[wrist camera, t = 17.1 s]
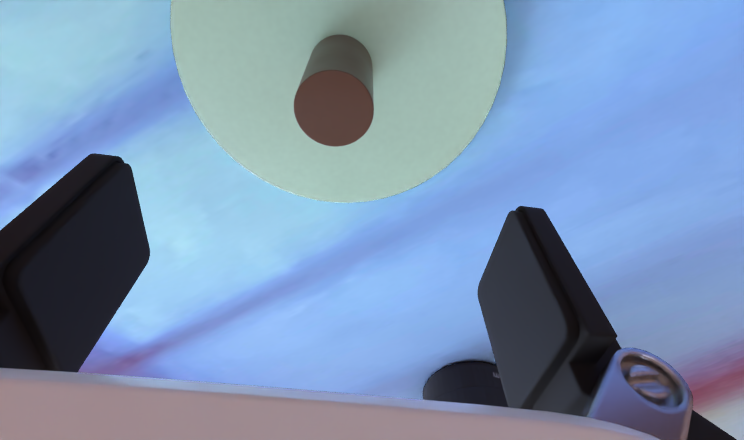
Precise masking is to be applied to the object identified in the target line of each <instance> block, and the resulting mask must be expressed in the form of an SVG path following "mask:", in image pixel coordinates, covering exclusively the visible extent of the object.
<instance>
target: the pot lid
mask: <svg viewBox="0 0 744 440" xmlns="http://www.w3.org/2000/svg"><path fill="white" fill-rule="evenodd" d="M170 27H171V37H172V46H173V52H174V57H175V61H176V65H177V70H178V73H179V76H180V79H181V82H182V84H183V87H184V90H185V93H186V95H187V97H188V99H189V101H190V103H191V105H192V107H193V109H194V111H195V113H196V114H197V116H198V117H199V119H200V120H201V122H202V123H203V125H204V127H205V128H206V130H207V131H208V132H209V133H210V135H211V136H212V137H213V138H214V139H215V141H216V142H217V143H218V144H219V146H221V147H222V148H223V149H224V150H225V151H226V152H227V153H228V154H229V155H230V156H231V157H232V158H233V159H234V160H235V161H236V162H238V163H239V164H240V165H241V166H243V167H244V168H245V169H246V170H248V171H249V172H251V173H252V174H254V175H255V176H257V177H259V178H260V179H262V180H263V181H265V182H267V183H269V184H271V185H273V186H275V187H277V188H279V189H281V190H284V191H287V192H289V193H292V194H295V195H298V196H302V197H306V198H310V199H314V200H320V201H327V202H340V203H354V202H367V201H372V200H377V199H383V198H386V197H390V196H393V195H396V194H399V193H402V192H404V191H407V190H409V189H411V188H414V187H416V186H418V185H420V184H421V183H423V182H425V181H427V180H428V179H430V178H432V177H433V176H435V175H436V174H437V173H439V172H440V171H441V170H443V169H444V168H445V167H447V166H448V165H449V164H450V163H451V162H452V161H453V160H454V159H455V158H456V157H457V156H458V155H460V154H461V152H462V151H463V150H464V149H465V148H466V146H467V145H468V144H469V143H470V142H471V141H472V139H473V138H474V136H475V135H476V133H477V132H478V130H479V129H480V127H481V126H482V124H483V123H484V121H485V119H486V117H487V115H488V113H489V111H490V109H491V107H492V105H493V102H494V99H495V97H496V94H497V91H498V88H499V86H500V82H501V77H502V73H503V69H504V64H505V55H506V45H507V24H506V12H505V5H504V0H171V21H170Z"/></svg>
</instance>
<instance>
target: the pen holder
mask: <svg viewBox="0 0 744 440" xmlns="http://www.w3.org/2000/svg"><path fill="white" fill-rule="evenodd" d="M423 400H432V401H444V402H456V403H467V404H479V405H489V406H499V407H508V404H507V400H506V397H505V393H504V390H503V386H502V382H501V379H500V375H499V372H498V368H497V366H495V365H492V364H488V363H482V362H464V363H458V364H454V365H451V366H448V367H445V368H443V369H441V370H439V371H437V372H436V373H435V374H433V375H432V376H431V377H430V378H429V380H428V381H427V383H426V384H425V386H424V389H423Z"/></svg>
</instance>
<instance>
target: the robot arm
mask: <svg viewBox="0 0 744 440" xmlns="http://www.w3.org/2000/svg"><path fill="white" fill-rule="evenodd" d="M149 256H150V248H149V244H148V240H147V235H146V231H145V226H144V222H143V217H142V213H141V208H140V204H139V200H138V195H137V191H136V186H135V182H134V177H133V173H132V169H131V167H130V165H129V164H126V163H124V161H123V160H122V158H120V157H119V156H111V155H102V154H90V155H88V156H87V157H86V158H85V159H84V160H82V161H81V162H80V163H79V164H78V165H77V166H75V167H74V168H73V169H72V170H71V171H70V172H68V173H67V174H66V175H65V176H64V177H63V178H61V179H60V180H59V181H58V182H57V183H56V184H54V185H53V186H52V187H51V188H50V189H48V190H47V191H46V192H45V193H44V194H43V195H41V196H40V197H39V198H38V199H37V200H36V201H34V202H33V203H32V204H31V205H30V206H29V207H27V208H26V209H25V210H24V211H23V212H22V213H20V214H19V215H18V216H17V217H16V218H14V219H13V220H12V221H11V222H10V223H9V224H7V225H6V226H5V227H4V228H3V229H2V230H0V440H737V439H735V438H734V437H732V436H731V435H729V434H728V433H726V432H725V431H723V430H722V429H720V428H719V427H717V426H716V425H714V424H713V423H711V422H710V421H708V420H707V419H705V418H704V417H702V416H701V415H699V414H698V413H696V412H695V411H693V410H692V408H693V396H692V393H691V391H690V389H689V386H688V384H687V383H686V382H685V380H684V379H683V378H682V376H681V375H680V374H679V373H678V372H677V371H676V370H675V369H674V368H673V367H672V366H671V365H669V364H668V363H667V362H665V361H664V360H662V359H661V358H659V357H658V356H656V355H653V354H651V353H649V352H647V351H644V350H641V349H637V348H623V349H621V347H620V346H619V344H618V342H617V340H616V337H617V334H616V333H615V331H614V329H613V328H612V326H611V324H610V322H609V321H608V319H607V317H606V316H605V314H604V312H603V310H602V309H601V307H600V305H599V304H598V302H597V300H596V298H595V297H594V295H593V293H592V291H591V290H590V288H589V286H588V285H587V283H586V281H585V279H584V278H583V276H582V274H581V273H580V271H579V269H578V267H577V266H576V264H575V262H574V260H573V259H572V257H571V255H570V254H569V252H568V250H567V248H566V247H565V245H564V243H563V242H562V240H561V238H560V236H559V235H558V233H557V231H556V230H555V228H554V226H553V224H552V223H551V221H550V219H549V217H548V216H547V214H546V212H545V211H544V210H543V209H541V208H533V207H525V206H519V207H518V208H517V209H516V211H510V212H509V214H508V216H507V218H506V220H505V223H504V225H503V228H502V230H501V232H500V235H499V237H498V240H497V242H496V244H495V247H494V249H493V252H492V254H491V256H490V259H489V261H488V264H487V266H486V268H485V271H484V273H483V276H482V278H481V280H480V283H479V286H478V299H479V303H480V306H481V310H482V314H483V317H484V321H485V325H486V328H487V332H488V335H489V339H490V343H491V346H492V350H493V353H494V357H495V361H496V364H497V368H498V372H499V375H500V379H501V382H502V386H503V390H504V393H505V397H506V400H507V404H508V407H499V406H489V405H479V404H467V403H456V402H444V401H432V400H421V399H409V398H397V397H386V396H374V395H362V394H350V393H338V392H325V391H313V390H301V389H288V388H276V387H263V386H251V385H238V384H226V383H213V382H200V381H186V380H173V379H160V378H146V377H133V376H120V375H106V374H93V373H79V372H78V371H79V369H80V367H81V366H82V364H83V363H84V361H85V360H86V358H87V357H88V355H89V353H90V352H91V350H92V349H93V347H94V346H95V344H96V343H97V341H98V339H99V338H100V336H101V335H102V333H103V332H104V330H105V329H106V327H107V325H108V324H109V322H110V321H111V319H112V318H113V316H114V315H115V313H116V311H117V310H118V308H119V307H120V305H121V304H122V302H123V301H124V299H125V297H126V296H127V294H128V293H129V291H130V290H131V288H132V286H133V285H134V283H135V282H136V280H137V279H138V277H139V276H140V274H141V272H142V271H143V269H144V268H145V266H146V265H147V263H148V260H149Z"/></svg>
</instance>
